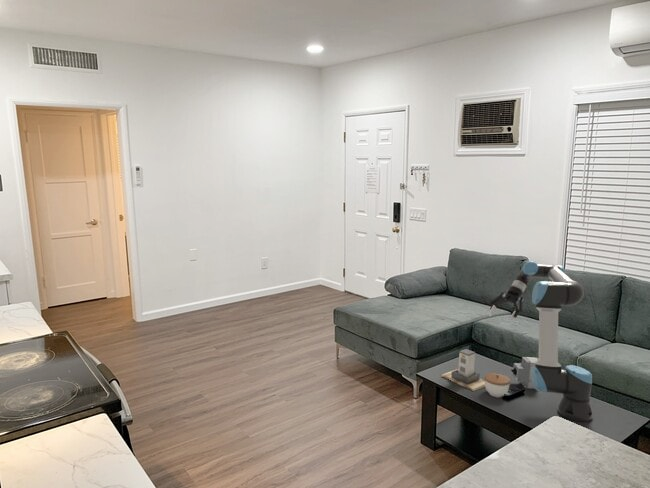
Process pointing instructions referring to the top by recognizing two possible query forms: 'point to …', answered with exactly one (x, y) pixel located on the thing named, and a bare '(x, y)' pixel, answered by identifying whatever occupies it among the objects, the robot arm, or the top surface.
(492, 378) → the lidded bowl
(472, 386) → the mount board
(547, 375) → the robot arm
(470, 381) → the socket collar
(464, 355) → the power strip
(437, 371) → the top surface
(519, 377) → the circuit breaker
